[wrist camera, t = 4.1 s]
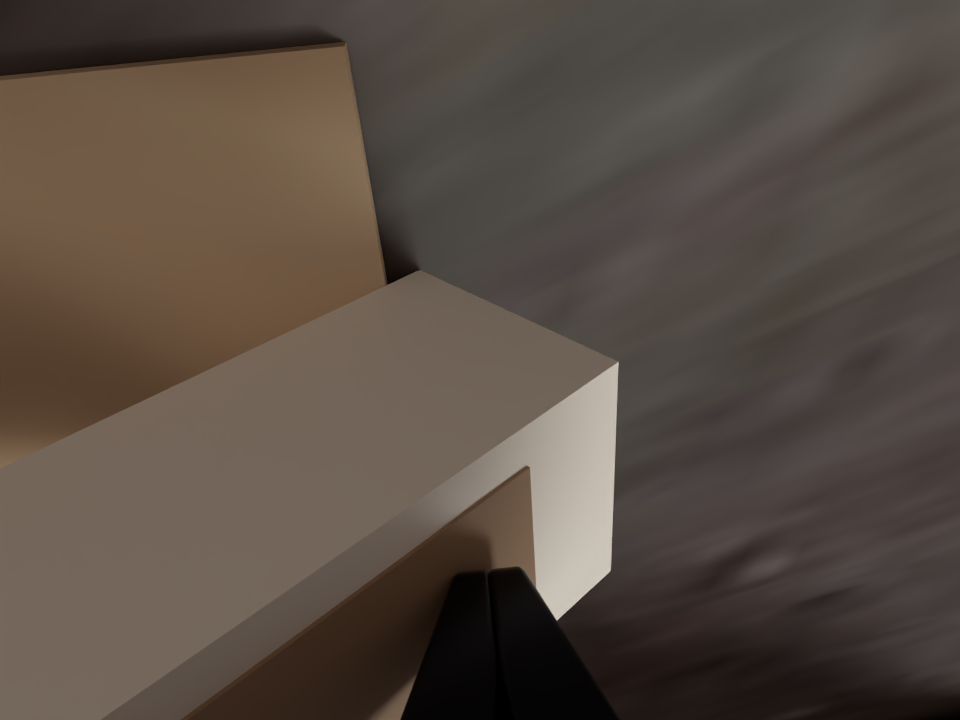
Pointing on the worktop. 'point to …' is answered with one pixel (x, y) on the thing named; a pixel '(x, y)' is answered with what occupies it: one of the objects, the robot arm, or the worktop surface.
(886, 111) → the worktop surface
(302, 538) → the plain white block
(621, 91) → the worktop surface
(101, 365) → the cork trivet
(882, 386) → the worktop surface
